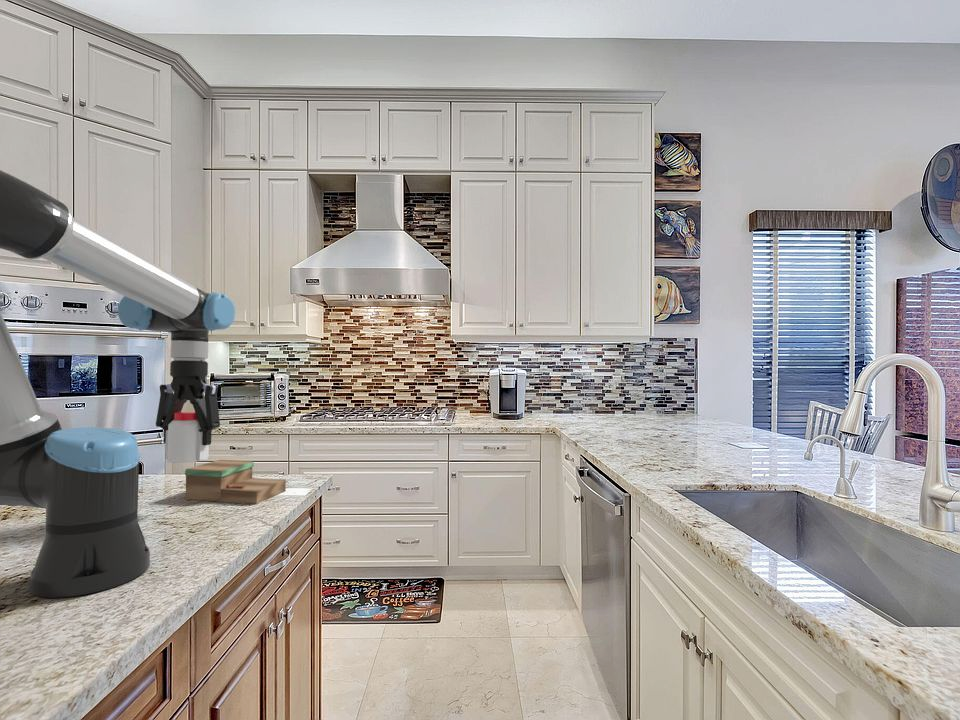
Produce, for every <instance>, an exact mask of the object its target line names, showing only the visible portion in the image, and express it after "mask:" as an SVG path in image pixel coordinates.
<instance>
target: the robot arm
mask: <svg viewBox="0 0 960 720" xmlns="http://www.w3.org/2000/svg"><path fill="white" fill-rule="evenodd" d="M0 249H2V250H5V251H8V252H11V253H14V254H16V255H18V256H21V257H23V258H25V259H28V260H38V259H41V258H42V259H44V260H46V261H47V262H50V263H53V264H55V265H56V266H58V267H61V268H62V269H66V270H67V271H69V272H72V273H74V274H76V275H78V276H80V277H83V278H84V279H87V280H89V281H91V282H92V283H94V284H95V283H96V284H97V285H100V286H102V287H104V288H106V289H109V290H111V291H112V292H116V293H117V294H119V295H121V296H122V298H121V299H120V301H119V304H118V307H117V308H118V310H117V315H118V319H119V320H120V322H121V324H122V325H123V326H125V327H126V328H129V329H133V330H138V331H151V332H164V333H170V359H173V360H171V361H170V366H169V371H170V372H169V375H170V377H172V380H171V382H170V383H168V384H160V385H159V393H160V396H159V401H158V409H157V414H156V419H155V426H156V427H157V428H161V429H162V430H163V443H164V444H165V445H164V446H165V449H164V450H165V451H164V452H165V454H164V455H165V456H164V459H165V460H167V447H168V424H169V423H170V422H171V421H172V420H174V413H175V412H182V410H183V407H184V405H185V403H187V402H188V401H189V403H190V404H191V405H192V407H193V410H194V411H195V413H196V416H197V419H198V422H199V425H200V428H201V429H200V430H199V432H198V434H197V460H198V461H197V462H201V461H200V460H202V461H205V460H208V459H209V458H210V457H209V456H210V455H209V450H210V448H209V447H210V445H211V444H212V432H213V430H215V429H218V428H220V427H221V421H220V414H219V411H220V410H219V403H218V390H219V386H218V385H217V384H216V385H215V384H212V385H211V384H209V383H207V380H206V378H207V376H208V374H209V371H208V370H209V362H207V361H206V360H207V359H208V358H209V333H210V332H212V331H219V330H220V331H221V330H225V329H228V328H230V326H232V324H233V323H234V321H235V316H236V308H235V307H236V306H235V305H234V302H233V300H232V299H231V298H230V297H229V296H228V295H227V294H223V293H216V292H211V293H209V292H205V291H203V290H202V289H199V288H198V287H196V286H194V285H192V284H191V283H189V282H187V281H185V280H184V279H182V278H180V277H178V276H177V275H175V274H174V273H171V272H170V271H168V270H167V269H164V268H163V267H161V266H159V265H157V264H156V263H154V262H152V261H151V260H149V259H147V258H145V257H144V256H141V255H140V254H138V253H137V252H135V251H133V250H131V249H130V248H128V247H126V246H124V245H122V244H121V243H119V242H117V241H115V240H113V239H112V238H111V237H108V235H107V236H106V235H105V234H103V233H101V232H100V231H98V230H96V229H94V228H93V227H92V226H89V225H87V224H86V223H84V222H83V221H81V220H79V219H78V218H75V217H74V216H72V213H71V210H70V207H68V206H67V205H66V204H65V203H63V202H61V201H60V200H58V199H56V198H54V197H53V196H51V195H49V194H48V193H46V192H44V191H43V190H41V189H39V188H37V187H35V186H33V185H31V184H29V183H28V182H26V181H24V180H22V179H20V178H17V177H15V176H14V175H12V174H10V173H8V172H5V171H3V170H1V169H0ZM140 456H141V455H140V454H139V447H138V440H137V438H136V436H135V435H134V434H133V433H131V432H129V431H126V430H123V429H118V428H110V427H92V426H91V427H90V426H88V427H87V426H86V427H70V428H65V429H64V428H62V426H61V424H60V421H59V419H58V416H57V414H54V413H51V412H48V411H46V410H43V409H42V408H41V406H40V404H39V401H38V399H37V396H36V393H35V391H34V388H33V386H32V384H31V381H30V379H29V378H28V374H27V372H26V369H25V367H24V365H23V362H22V360H21V357H20V355H19V353H18V350H17V348H16V345H15V343H14V340H13V338H12V336H11V334H10V331H9V329H8V327H7V324H6V322H5V319H4V317H3V314H2V311H0V506H7V507H18V506H19V507H20V506H21V507H30V508H37V509H39V508H40V509H45V536H44V540H43V543H42V545H41V547H40V550H39V552H38V555H37V558H36V562H35V565H34V567H33V568H32V570H31V572H30V575H29V592H30V593H31V594H32V595H34V596H36V597H40V598H57V599H58V598H68V597H69V598H70V597H76V596H81V595H88V594H93V593H97V592H101V591H104V590H108V589H111V588H114V587H118V586H121V585H122V584H126V583H128V582H130V581H132V580H134V579H137V578H138V577H139V576H141V575H143V574H144V573H145V572H146V571H147V570H148V569H149V568H150V566H151V564H150V563H151V552H150V548H149V547H148V546H147V543H146V540H145V537H144V534H143V532H142V530H141V529H142V528H141V526H140V524H139V518H138V514H139V513H138V508H139V505H138V504H139V475H140V474H139V471H140ZM204 459H205V460H204Z"/></svg>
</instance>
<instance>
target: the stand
mask: <svg viewBox="0 0 960 720" xmlns="http://www.w3.org/2000/svg"><path fill="white" fill-rule="evenodd" d="M254 465H255V464H254V461H252V460H251V461H250V460H235V459H234V460H233V459H232V460H231V459H218V460H215V461H211V462H206V463H203V464H200V465H196V466H193V467H189V468H186V469H185V470H184V475H185V499H186V500H194V499H196V500H197V501H211V502H223V503H225V502H226V503H239V504H254V505H256V504H257V505H258V504H259V503H262V502H264V501H267V500H269V499H271V498H273V497H275V496H278V495H280V494H282V493H284V492H286V487H287V486H286V483H287V482H286V479H280V478H279V479H275V478H259V477H253V468H254V467H255V466H254Z"/></svg>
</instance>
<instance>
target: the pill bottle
mask: <svg viewBox="0 0 960 720" xmlns="http://www.w3.org/2000/svg"><path fill="white" fill-rule="evenodd" d="M200 429H201V428H200V425H199V422H198V419H197V416H196V413H195V410H194V411H193V410H191V411H181V412H175V413H174V420H172V421H171V422H170V423H169V424H168V447H167V459H166V462H167V463H170V464H171V463H172V464H186V463H187V464H188V463H189V464H190V463H195V462H202V461H206V459H204V460H200V461H198V460H197V434H198V432H199V430H200Z"/></svg>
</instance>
